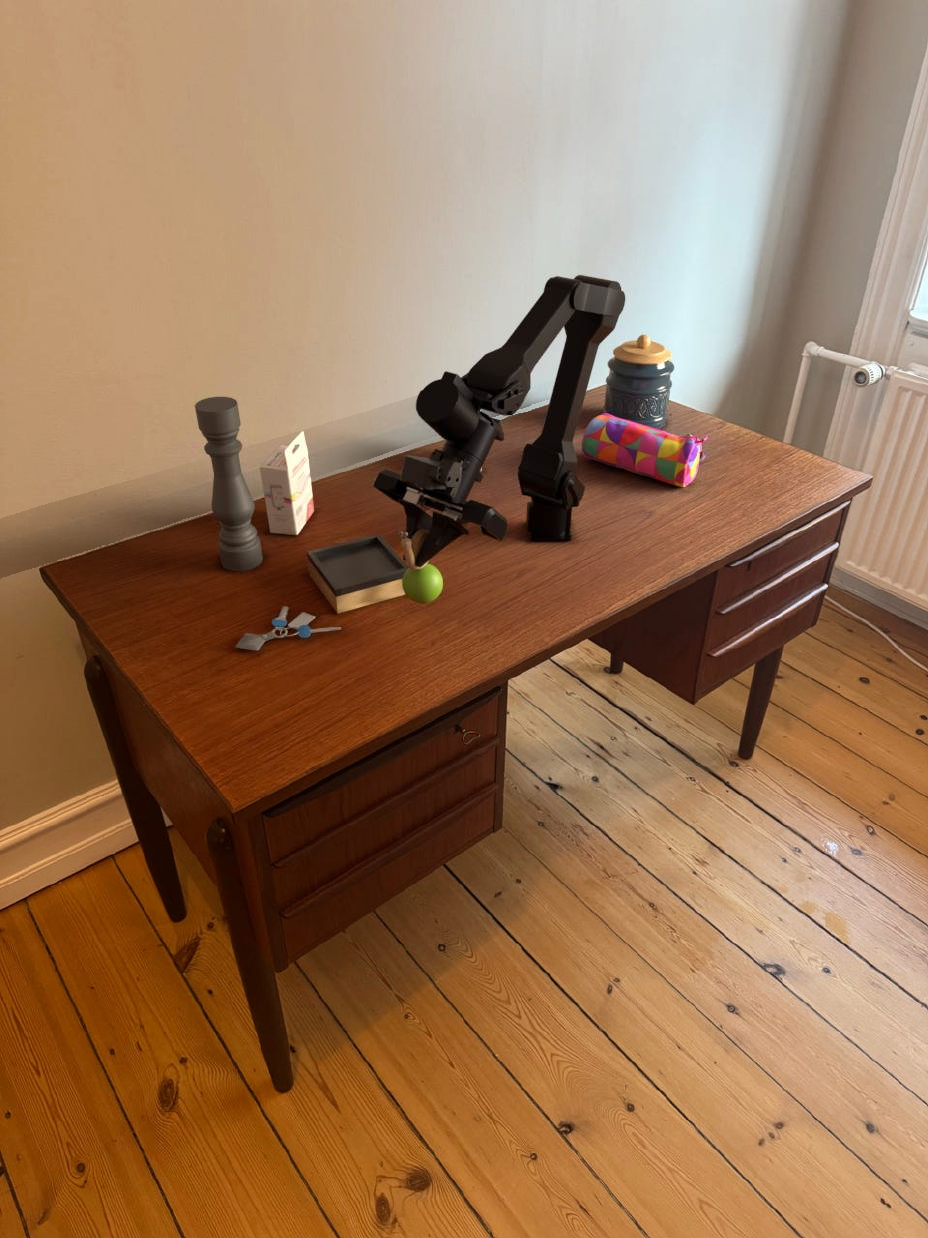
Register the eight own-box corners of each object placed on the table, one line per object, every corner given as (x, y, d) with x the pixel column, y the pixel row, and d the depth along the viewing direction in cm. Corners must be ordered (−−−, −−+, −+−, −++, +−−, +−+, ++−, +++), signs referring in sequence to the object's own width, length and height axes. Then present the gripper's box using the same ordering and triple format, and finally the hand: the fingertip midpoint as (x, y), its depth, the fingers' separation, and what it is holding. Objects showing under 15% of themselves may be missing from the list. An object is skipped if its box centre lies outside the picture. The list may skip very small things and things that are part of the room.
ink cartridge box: (287, 508, 148) (276, 426, 139) (315, 511, 147) (306, 428, 138) (268, 533, 141) (255, 448, 132) (297, 536, 140) (286, 451, 132)
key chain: (239, 657, 114) (238, 652, 114) (226, 623, 120) (225, 618, 120) (342, 632, 119) (341, 627, 118) (325, 601, 125) (324, 596, 124)
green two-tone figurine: (392, 609, 117) (384, 528, 110) (417, 586, 121) (410, 508, 115) (427, 618, 114) (420, 536, 108) (451, 595, 119) (446, 515, 113)
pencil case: (707, 475, 158) (715, 428, 153) (688, 495, 152) (696, 447, 147) (597, 448, 168) (601, 403, 163) (575, 466, 161) (579, 420, 156)
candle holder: (242, 575, 131) (216, 416, 116) (212, 564, 133) (183, 406, 119) (271, 557, 135) (248, 401, 120) (241, 546, 137) (216, 392, 123)
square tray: (380, 556, 135) (379, 533, 133) (412, 592, 127) (411, 569, 125) (309, 574, 131) (306, 551, 128) (337, 613, 122) (335, 590, 120)
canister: (600, 432, 174) (609, 343, 164) (603, 407, 185) (611, 323, 175) (667, 436, 173) (679, 347, 163) (665, 411, 183) (677, 326, 173)
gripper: (377, 411, 112) (324, 521, 111) (496, 448, 102) (439, 568, 102) (419, 447, 121) (370, 548, 121) (531, 484, 112) (479, 594, 111)
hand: (411, 563), depth 113 cm, fingers closed on green two-tone figurine
